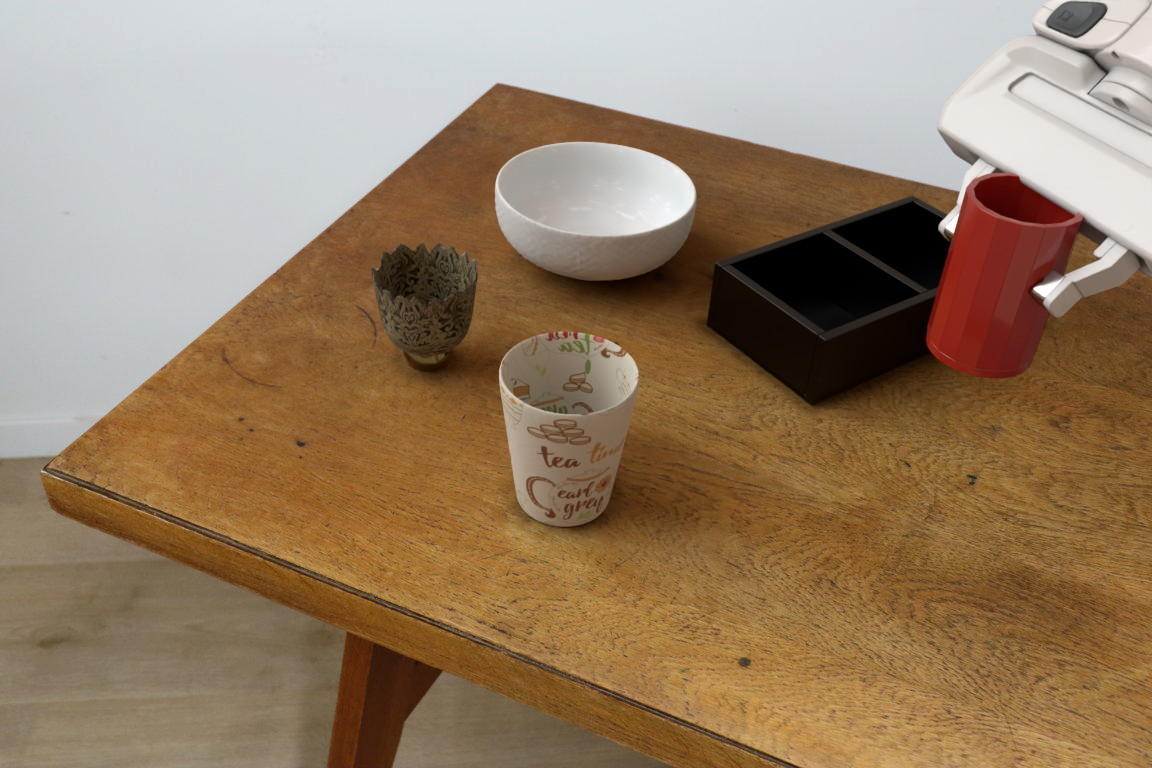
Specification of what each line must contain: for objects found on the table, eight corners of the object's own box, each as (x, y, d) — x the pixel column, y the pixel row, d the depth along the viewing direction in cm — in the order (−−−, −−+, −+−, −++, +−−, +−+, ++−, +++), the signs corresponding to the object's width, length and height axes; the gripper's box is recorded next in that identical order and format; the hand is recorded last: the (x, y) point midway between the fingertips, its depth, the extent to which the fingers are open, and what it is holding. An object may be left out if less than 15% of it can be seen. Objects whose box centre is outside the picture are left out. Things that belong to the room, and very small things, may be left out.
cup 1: (457, 399, 79) (455, 305, 74) (362, 378, 80) (353, 285, 76) (492, 341, 85) (492, 251, 80) (402, 323, 86) (396, 233, 81)
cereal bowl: (684, 321, 88) (694, 244, 84) (478, 301, 89) (477, 223, 85) (691, 218, 102) (700, 147, 97) (512, 201, 103) (512, 130, 98)
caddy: (897, 253, 98) (912, 194, 95) (1007, 319, 91) (1028, 258, 87) (706, 324, 88) (714, 261, 84) (811, 405, 80) (826, 340, 77)
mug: (481, 526, 69) (480, 400, 63) (535, 405, 79) (538, 286, 73) (612, 553, 68) (624, 427, 62) (650, 427, 77) (663, 307, 71)
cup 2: (970, 308, 70) (1015, 163, 64) (1053, 357, 66) (1109, 208, 60) (903, 337, 67) (943, 189, 61) (986, 391, 63) (1037, 238, 57)
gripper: (1363, 198, 55) (1153, 398, 58) (1062, 53, 70) (904, 217, 72) (1346, 128, 51) (1120, 347, 53) (1028, -12, 65) (861, 166, 68)
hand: (993, 271), depth 63 cm, fingers closed on cup 2, 6 cm apart
